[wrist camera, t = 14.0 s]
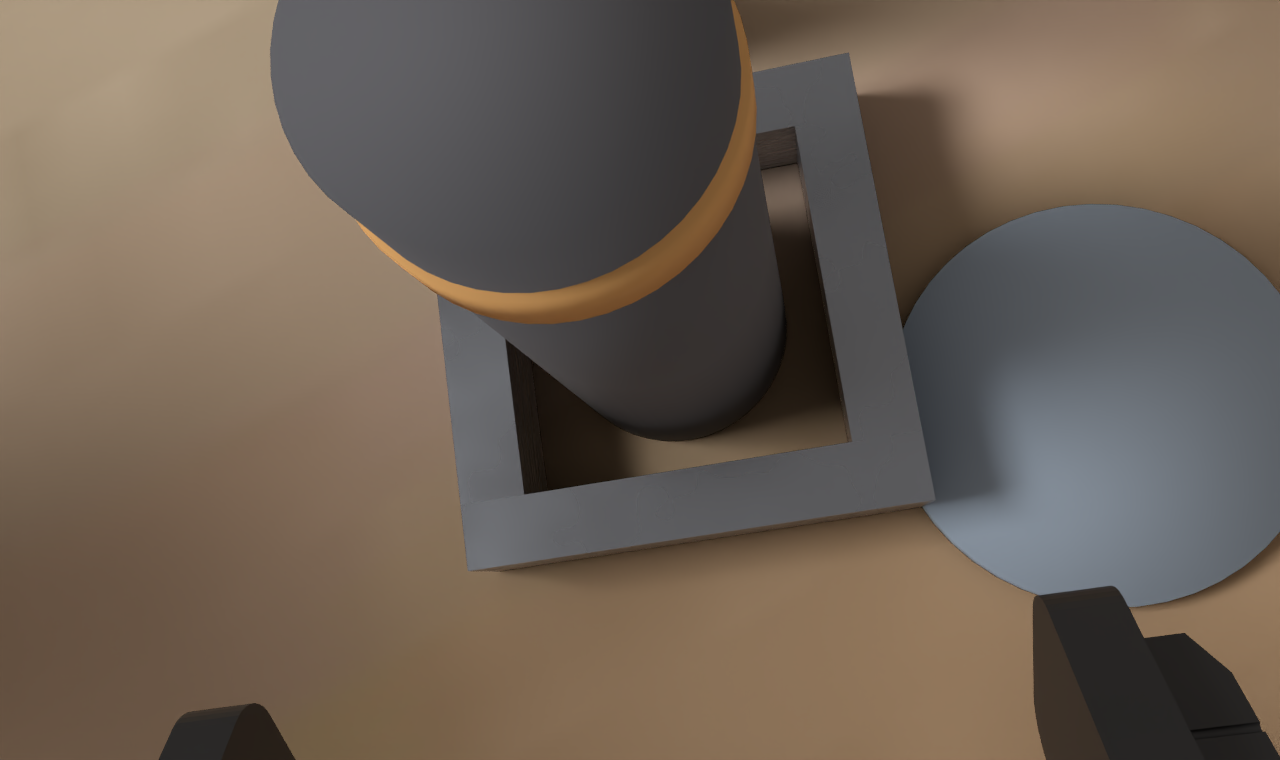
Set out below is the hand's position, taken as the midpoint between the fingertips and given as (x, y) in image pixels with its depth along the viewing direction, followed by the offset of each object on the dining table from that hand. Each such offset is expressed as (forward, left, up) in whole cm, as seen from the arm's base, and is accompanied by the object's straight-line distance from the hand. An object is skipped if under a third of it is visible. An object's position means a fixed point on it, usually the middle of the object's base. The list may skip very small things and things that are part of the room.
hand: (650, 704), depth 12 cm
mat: (+3, +8, -11) cm, 14 cm away
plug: (-5, +4, -11) cm, 13 cm away
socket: (-5, +4, -11) cm, 13 cm away
